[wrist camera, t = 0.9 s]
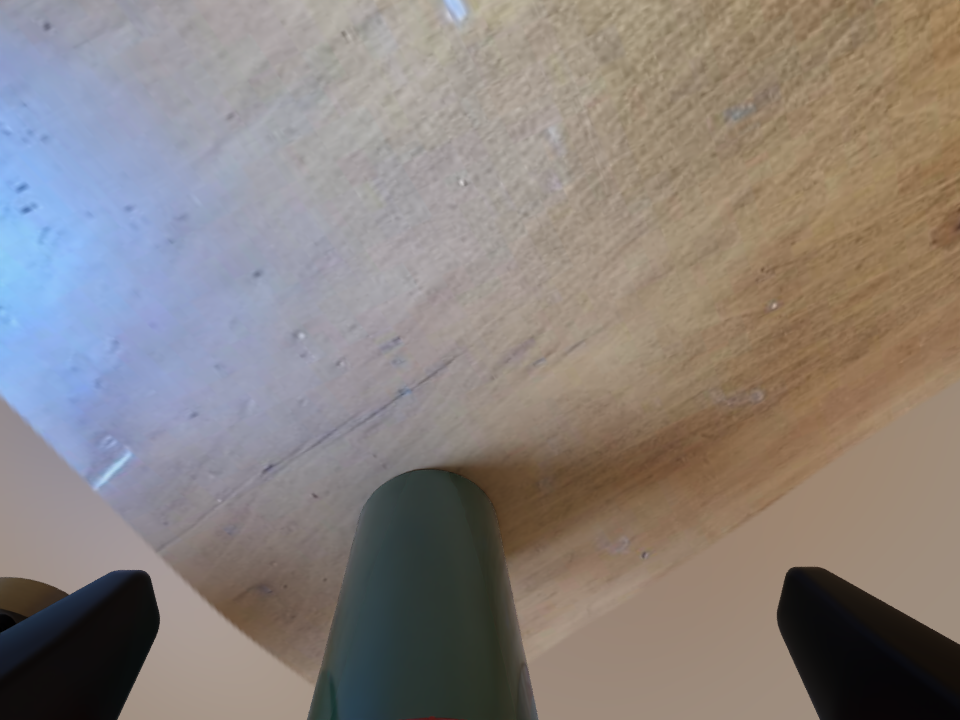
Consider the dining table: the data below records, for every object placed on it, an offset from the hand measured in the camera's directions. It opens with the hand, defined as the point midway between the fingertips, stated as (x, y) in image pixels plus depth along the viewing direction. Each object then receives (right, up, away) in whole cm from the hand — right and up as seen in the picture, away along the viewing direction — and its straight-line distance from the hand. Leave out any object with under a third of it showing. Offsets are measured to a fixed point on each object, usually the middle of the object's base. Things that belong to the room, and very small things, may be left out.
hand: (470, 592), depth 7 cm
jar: (-2, -4, +15) cm, 15 cm away
